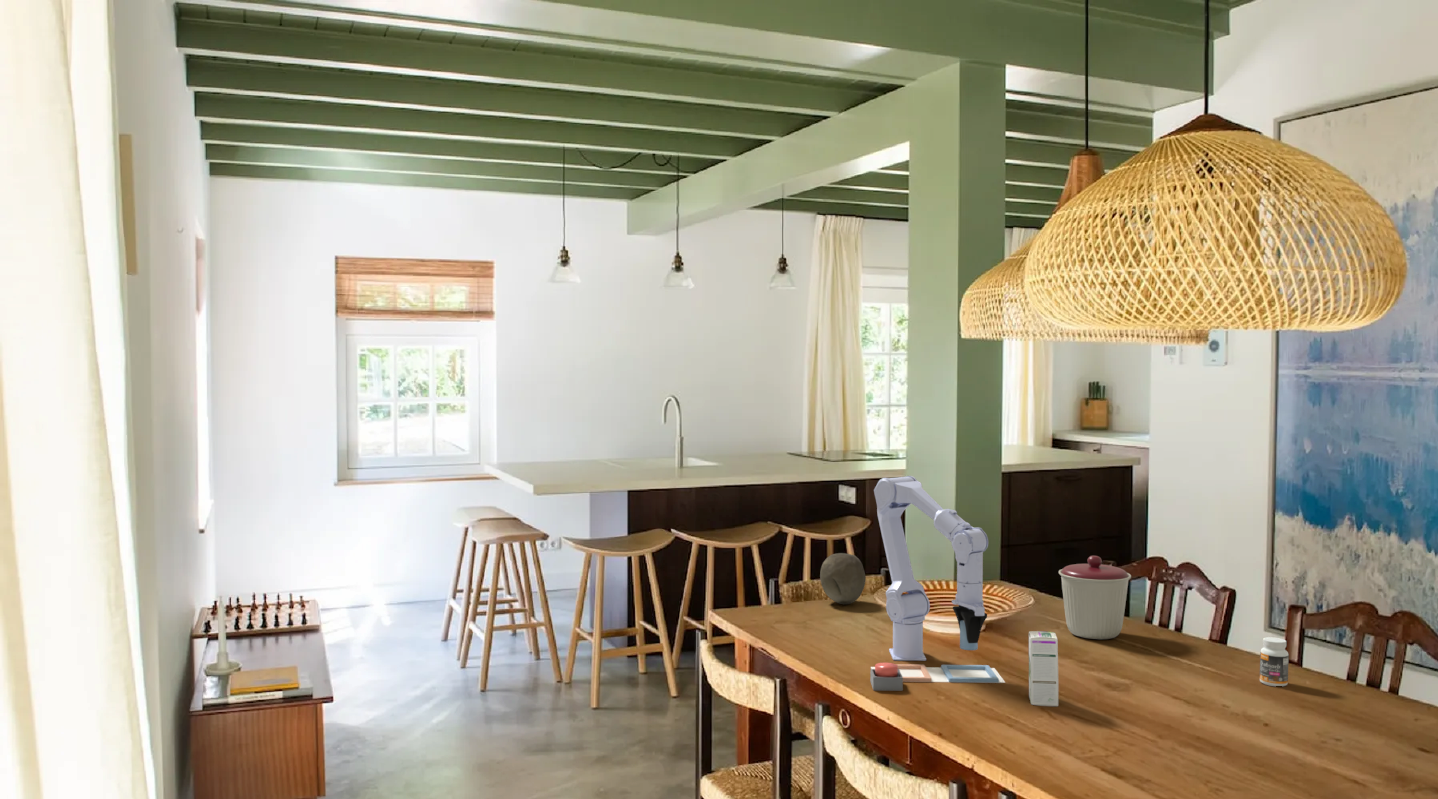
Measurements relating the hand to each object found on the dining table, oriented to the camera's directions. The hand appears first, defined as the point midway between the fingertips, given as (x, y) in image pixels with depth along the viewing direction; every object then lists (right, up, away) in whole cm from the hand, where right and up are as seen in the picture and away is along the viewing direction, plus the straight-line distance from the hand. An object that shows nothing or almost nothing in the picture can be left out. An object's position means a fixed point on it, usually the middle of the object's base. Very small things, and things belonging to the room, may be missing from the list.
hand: (969, 640), depth 245 cm
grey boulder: (-20, -6, +75) cm, 78 cm away
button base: (-20, -9, -8) cm, 23 cm away
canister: (+42, -7, +37) cm, 56 cm away
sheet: (-8, -8, +1) cm, 11 cm away
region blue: (0, -8, 0) cm, 8 cm away
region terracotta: (-15, -8, +1) cm, 17 cm away
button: (-20, -6, -8) cm, 23 cm away
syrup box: (+11, -9, -19) cm, 24 cm away
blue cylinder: (0, -2, 0) cm, 2 cm away
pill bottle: (+67, -9, -6) cm, 68 cm away
